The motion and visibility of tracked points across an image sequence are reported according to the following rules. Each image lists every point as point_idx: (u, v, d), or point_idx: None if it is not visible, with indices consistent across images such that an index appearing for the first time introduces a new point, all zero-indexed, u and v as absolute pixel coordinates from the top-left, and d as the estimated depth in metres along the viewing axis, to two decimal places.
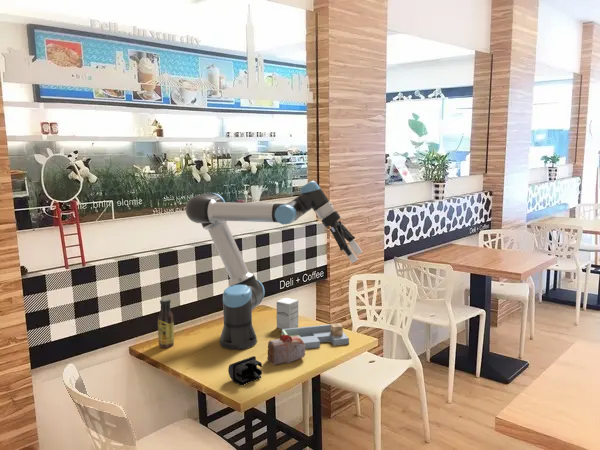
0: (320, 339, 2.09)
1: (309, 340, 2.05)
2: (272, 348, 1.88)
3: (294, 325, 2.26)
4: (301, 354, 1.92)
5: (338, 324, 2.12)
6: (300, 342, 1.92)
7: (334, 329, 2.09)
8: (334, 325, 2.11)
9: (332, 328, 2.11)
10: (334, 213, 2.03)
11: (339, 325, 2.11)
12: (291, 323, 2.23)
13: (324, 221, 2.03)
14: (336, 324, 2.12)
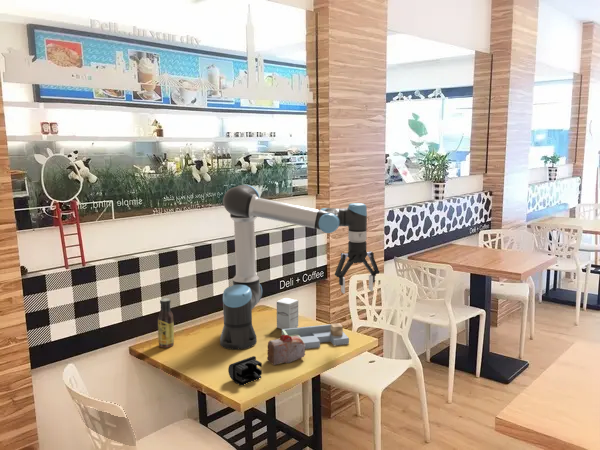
0: (320, 339, 2.09)
1: (309, 340, 2.05)
2: (272, 348, 1.88)
3: (294, 325, 2.26)
4: (301, 354, 1.92)
5: (338, 324, 2.12)
6: (300, 342, 1.92)
7: (334, 329, 2.09)
8: (334, 325, 2.11)
9: (332, 328, 2.11)
10: (355, 244, 2.05)
11: (339, 325, 2.11)
12: (291, 323, 2.23)
13: None
14: (336, 324, 2.12)
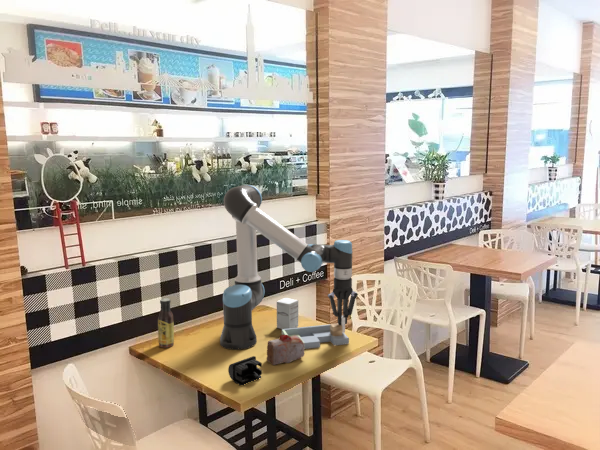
0: (320, 339, 2.09)
1: (309, 340, 2.05)
2: (271, 348, 1.88)
3: (294, 325, 2.26)
4: (300, 354, 1.92)
5: (338, 324, 2.12)
6: (299, 342, 1.92)
7: (334, 329, 2.09)
8: (334, 325, 2.11)
9: (332, 328, 2.11)
10: (340, 281, 2.06)
11: (339, 325, 2.11)
12: (291, 323, 2.23)
13: None
14: (336, 324, 2.12)
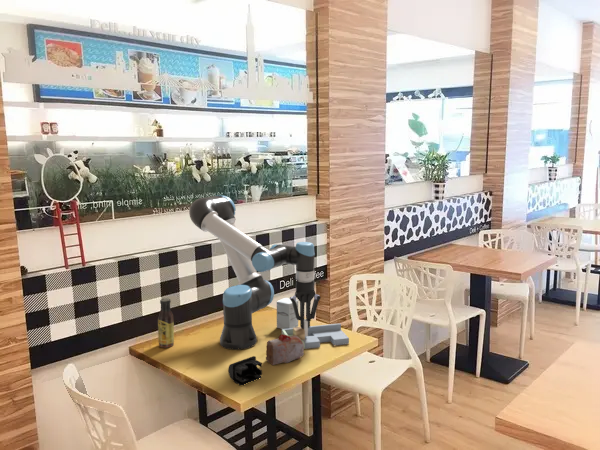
0: (320, 339, 2.09)
1: (309, 340, 2.05)
2: (271, 348, 1.88)
3: (294, 325, 2.26)
4: (300, 354, 1.92)
5: (300, 328, 2.08)
6: (299, 342, 1.92)
7: (296, 333, 2.05)
8: (296, 329, 2.07)
9: (294, 332, 2.07)
10: (302, 284, 2.02)
11: (301, 329, 2.07)
12: (291, 323, 2.23)
13: None
14: (299, 328, 2.08)
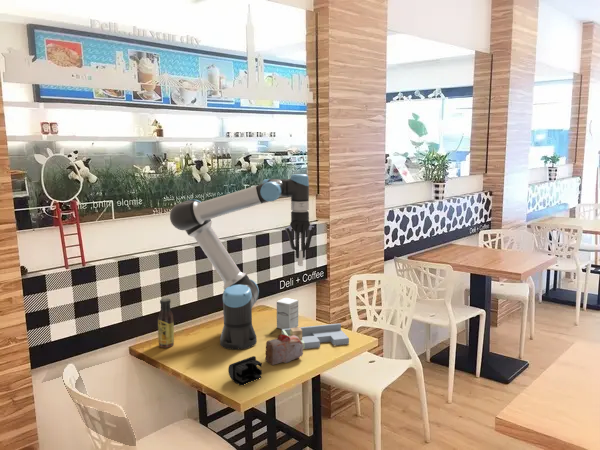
0: (320, 339, 2.09)
1: (309, 340, 2.05)
2: (270, 348, 1.88)
3: (294, 325, 2.26)
4: (299, 353, 1.93)
5: (298, 328, 2.08)
6: (298, 341, 1.92)
7: (293, 334, 2.05)
8: (294, 329, 2.07)
9: (291, 332, 2.06)
10: (297, 214, 2.09)
11: (299, 329, 2.07)
12: (291, 323, 2.23)
13: None
14: (296, 328, 2.08)
